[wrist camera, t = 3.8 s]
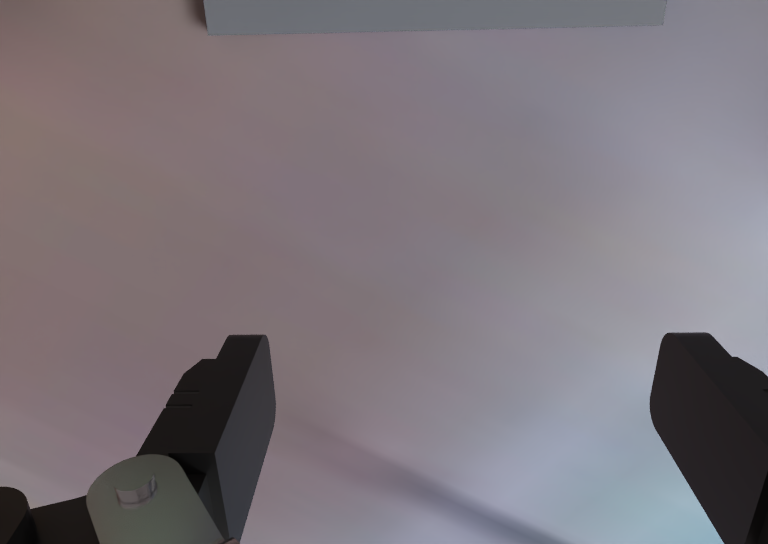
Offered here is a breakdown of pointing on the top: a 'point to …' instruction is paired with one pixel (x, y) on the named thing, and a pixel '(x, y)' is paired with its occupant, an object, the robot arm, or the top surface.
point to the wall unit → (422, 15)
